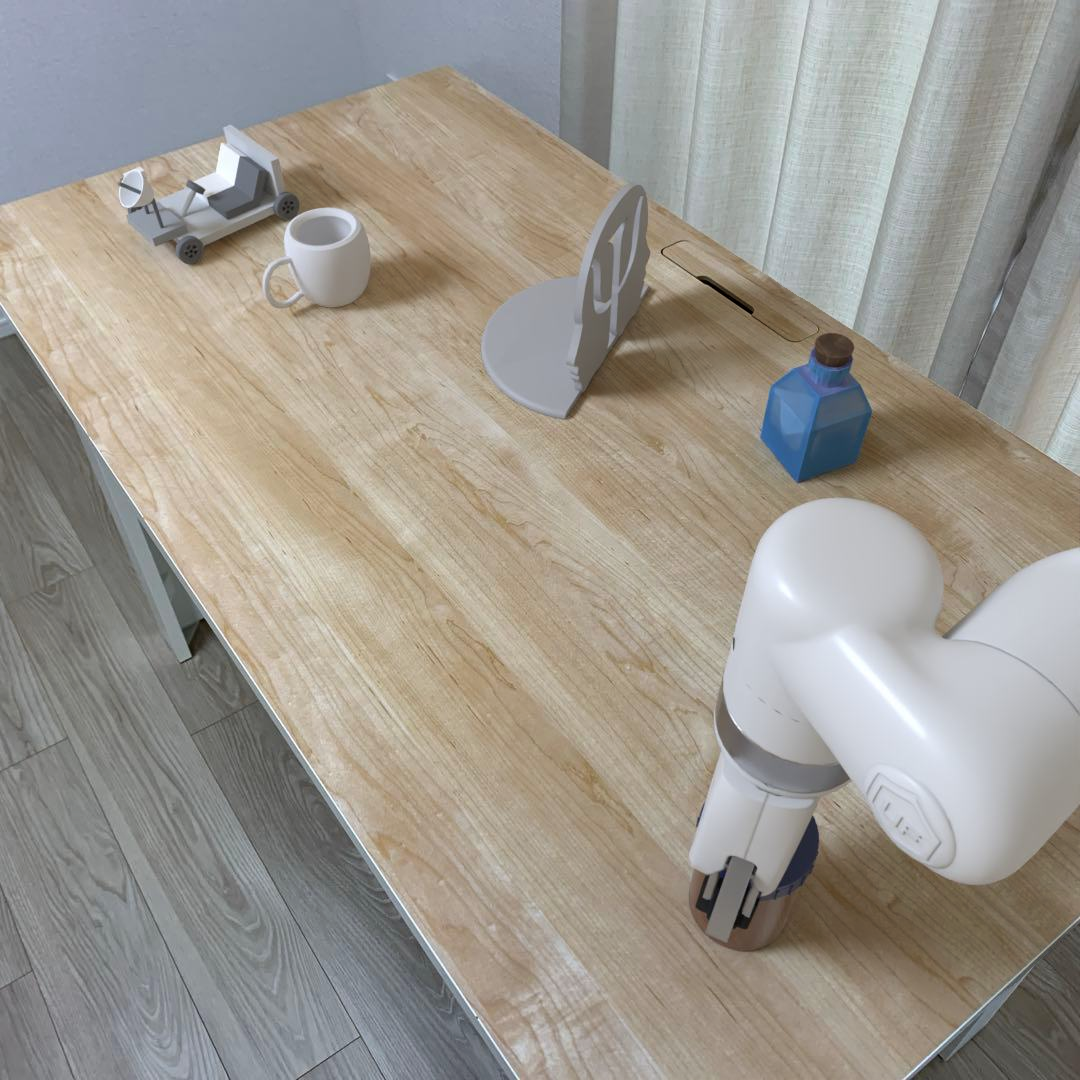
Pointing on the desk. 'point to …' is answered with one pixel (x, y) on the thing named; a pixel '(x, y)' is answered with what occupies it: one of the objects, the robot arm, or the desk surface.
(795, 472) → the perfume bottle
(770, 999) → the desk surface
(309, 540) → the desk surface
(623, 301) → the ornament
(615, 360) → the desk surface
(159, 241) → the toy car
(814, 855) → the lid
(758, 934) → the jar
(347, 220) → the mug
